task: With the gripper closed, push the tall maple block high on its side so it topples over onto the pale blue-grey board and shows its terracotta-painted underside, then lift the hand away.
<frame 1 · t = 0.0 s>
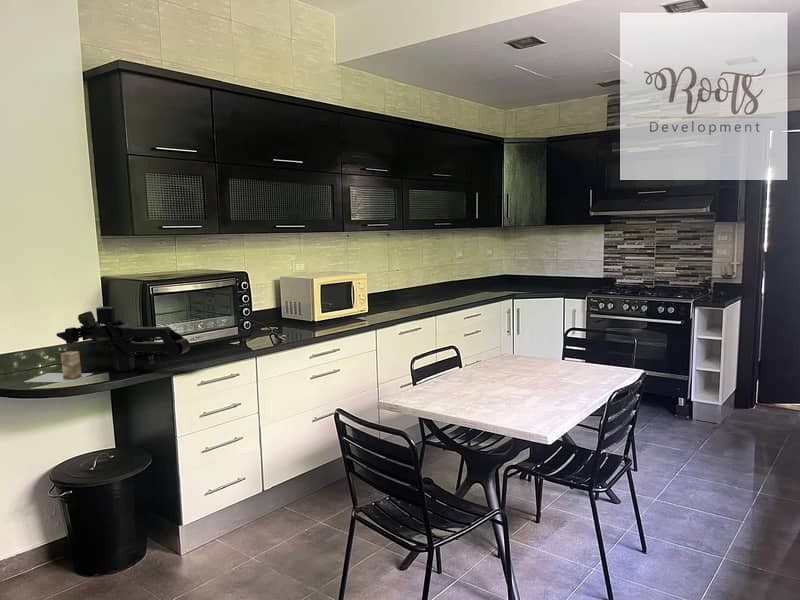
hand: (64, 332, 241), 17 cm above the worktop, tool horizontal, fingers open, 9 cm apart
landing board: (59, 379, 231), on the worktop
maple block: (72, 377, 229), point 1 cm above the worktop, touching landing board
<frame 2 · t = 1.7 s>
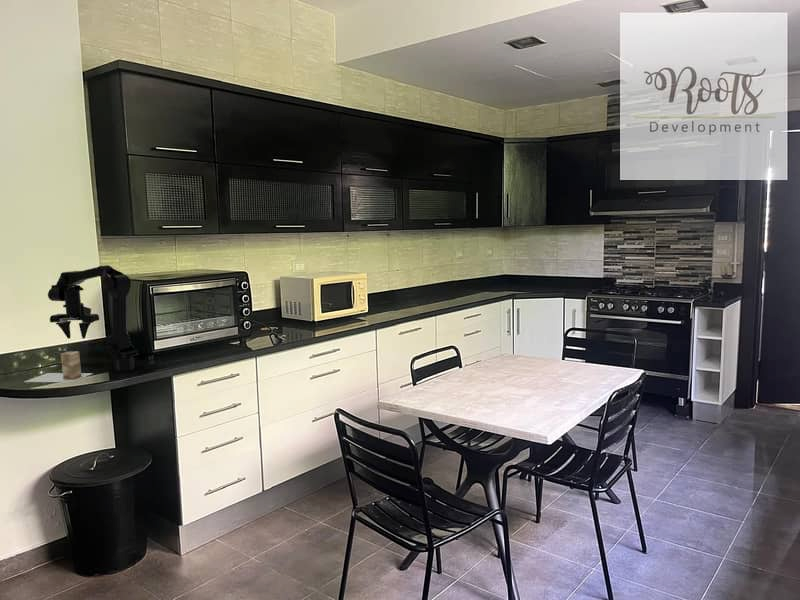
hand: (76, 338, 247), 13 cm above the worktop, tool pointing down, fingers open, 6 cm apart
nothing on the worktop moved.
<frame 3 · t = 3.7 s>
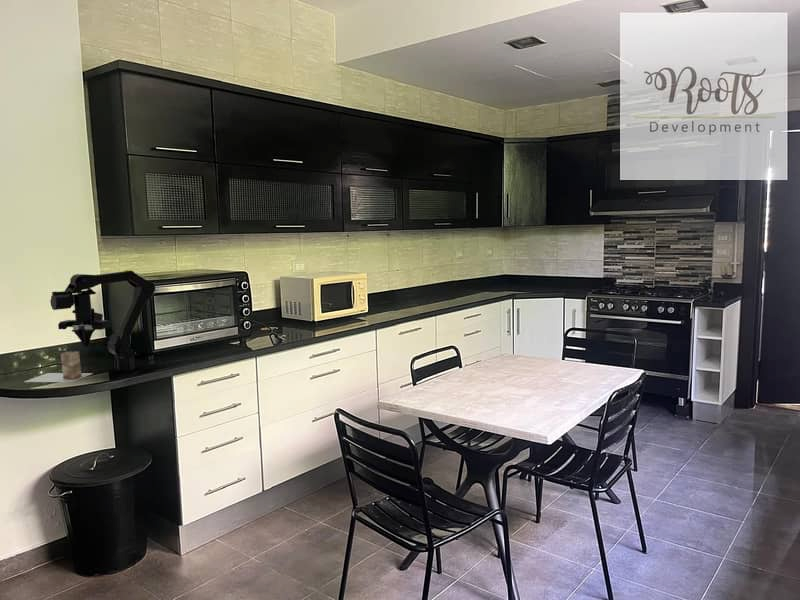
hand: (86, 346, 228), 13 cm above the worktop, tool pointing down, fingers closed
nothing on the worktop moved.
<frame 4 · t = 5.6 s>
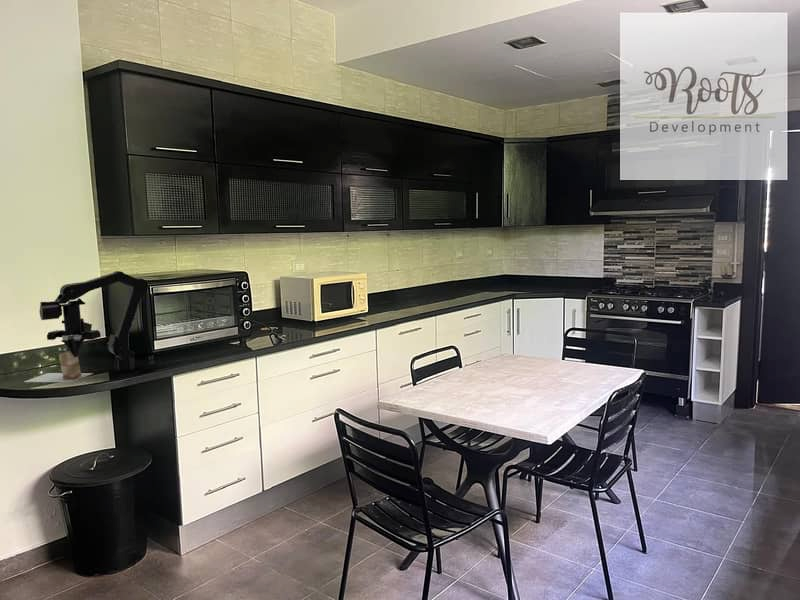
hand: (75, 356, 228), 9 cm above the worktop, tool pointing down, fingers closed
maple block: (72, 377, 229), point 1 cm above the worktop, tilted 5°, touching gripper, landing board
everything else where it was.
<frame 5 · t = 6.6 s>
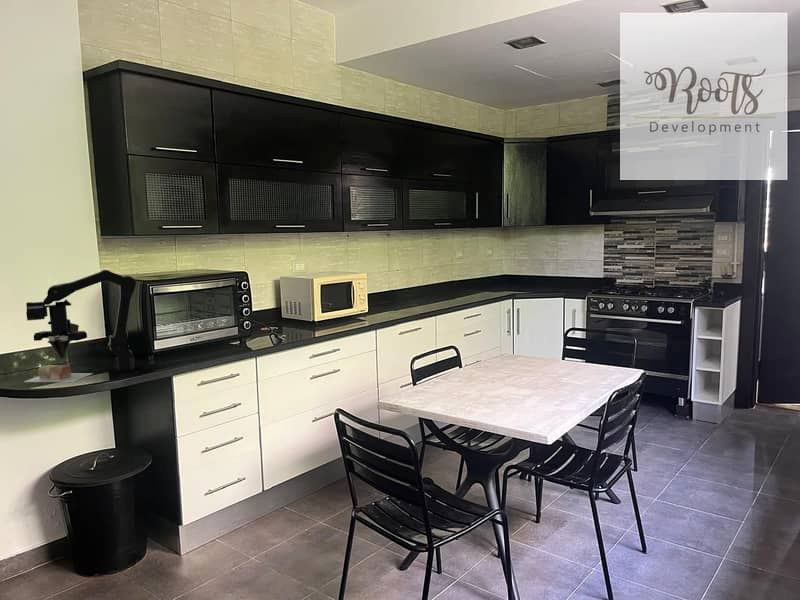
hand: (62, 357, 229), 9 cm above the worktop, tool pointing down, fingers closed
maple block: (66, 372, 229), point 3 cm above the worktop, tilted 90°, touching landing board
everything else where it was.
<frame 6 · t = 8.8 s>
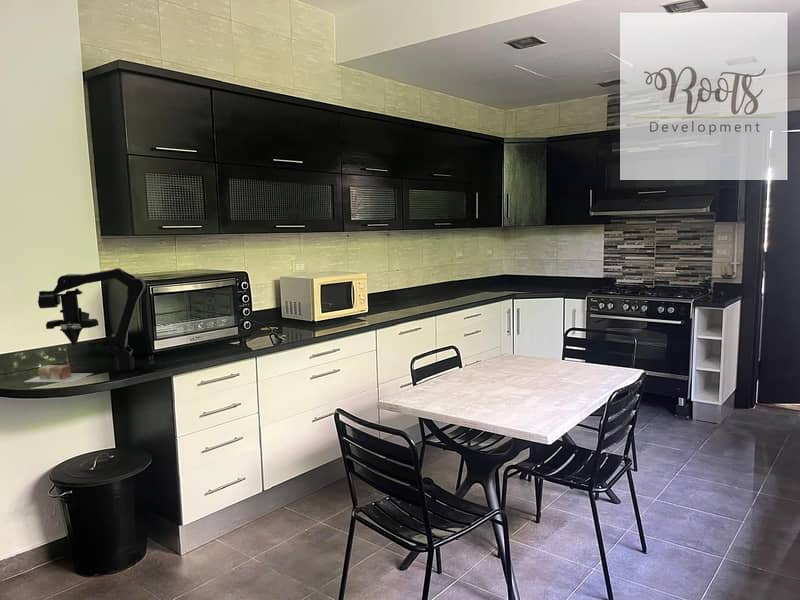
hand: (74, 345, 234), 13 cm above the worktop, tool pointing down, fingers closed
nothing on the worktop moved.
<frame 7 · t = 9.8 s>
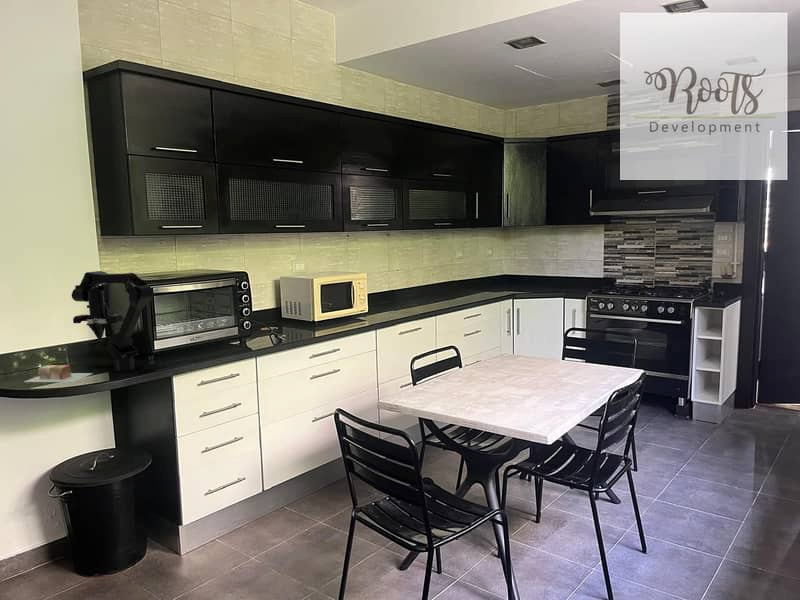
hand: (100, 339, 243), 13 cm above the worktop, tool pointing down, fingers closed
nothing on the worktop moved.
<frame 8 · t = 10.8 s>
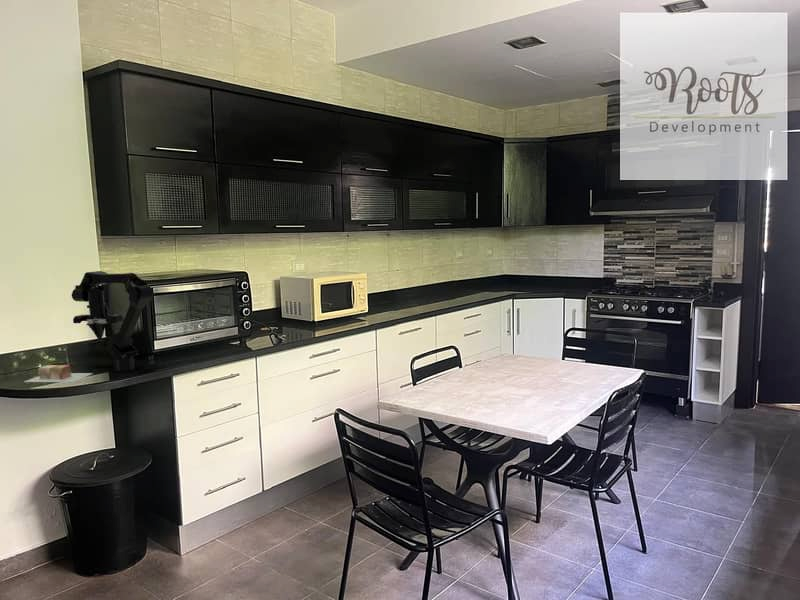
hand: (100, 339, 243), 13 cm above the worktop, tool pointing down, fingers closed
nothing on the worktop moved.
at the end: maple block tilted 90°; maple block touching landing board; maple block inside the target area (5.3 cm from its centre), point 3.2 cm above the worktop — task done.
